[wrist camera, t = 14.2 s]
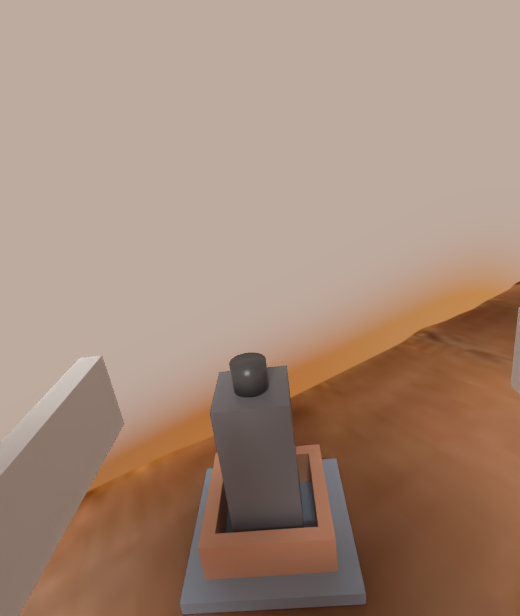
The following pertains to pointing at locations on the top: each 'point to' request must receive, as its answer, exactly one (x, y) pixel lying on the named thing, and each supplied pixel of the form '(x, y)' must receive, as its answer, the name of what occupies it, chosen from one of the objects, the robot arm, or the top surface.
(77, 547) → the top surface
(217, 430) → the bottle
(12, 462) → the robot arm
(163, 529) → the top surface
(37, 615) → the top surface
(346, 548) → the end holder
